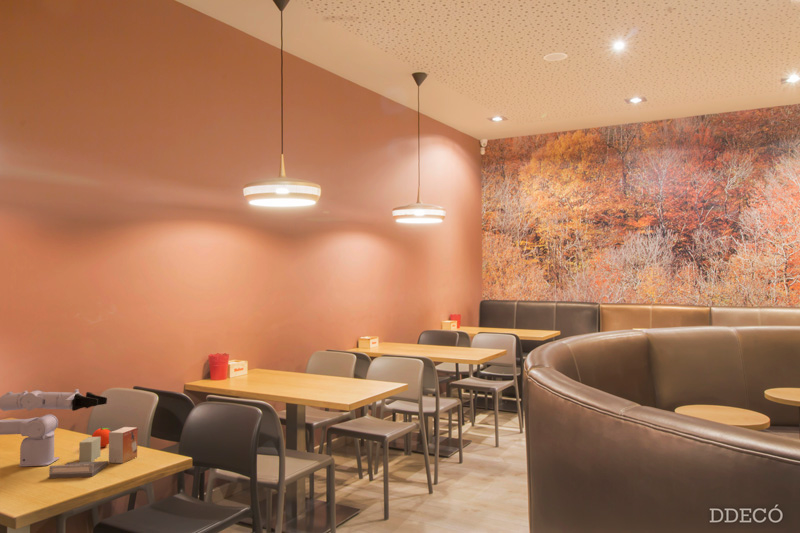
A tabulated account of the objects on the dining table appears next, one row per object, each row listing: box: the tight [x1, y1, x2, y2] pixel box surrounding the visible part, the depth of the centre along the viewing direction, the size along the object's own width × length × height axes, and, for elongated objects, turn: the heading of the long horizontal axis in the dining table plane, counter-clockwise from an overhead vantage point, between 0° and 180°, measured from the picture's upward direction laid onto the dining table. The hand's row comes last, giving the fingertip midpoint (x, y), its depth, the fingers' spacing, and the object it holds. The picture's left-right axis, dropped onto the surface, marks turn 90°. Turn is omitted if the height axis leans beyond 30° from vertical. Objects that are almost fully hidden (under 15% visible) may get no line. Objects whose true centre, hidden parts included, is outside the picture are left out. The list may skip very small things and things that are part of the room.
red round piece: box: [91, 427, 111, 448], centre depth 212 cm, size 8×7×7 cm
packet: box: [78, 436, 101, 462], centre depth 196 cm, size 4×7×7 cm, turn 6°
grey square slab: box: [48, 460, 109, 479], centre depth 183 cm, size 13×12×4 cm
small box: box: [108, 426, 139, 464], centre depth 195 cm, size 8×6×10 cm
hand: (102, 401), depth 195 cm, fingers open, 7 cm apart
